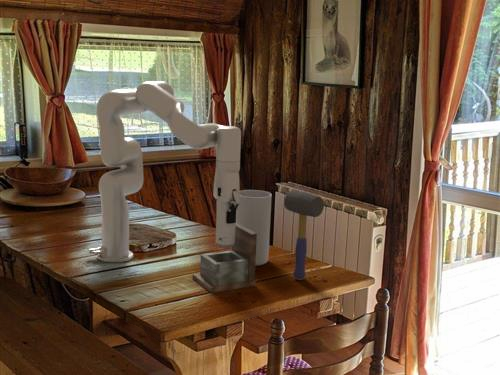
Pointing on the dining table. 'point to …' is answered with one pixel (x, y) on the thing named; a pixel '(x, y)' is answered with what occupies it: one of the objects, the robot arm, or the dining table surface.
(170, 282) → the dining table surface
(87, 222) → the dining table surface
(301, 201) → the rubber mallet
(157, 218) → the dining table surface
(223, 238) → the travel mug
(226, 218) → the robot arm
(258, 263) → the cylinder vase
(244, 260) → the post holder
